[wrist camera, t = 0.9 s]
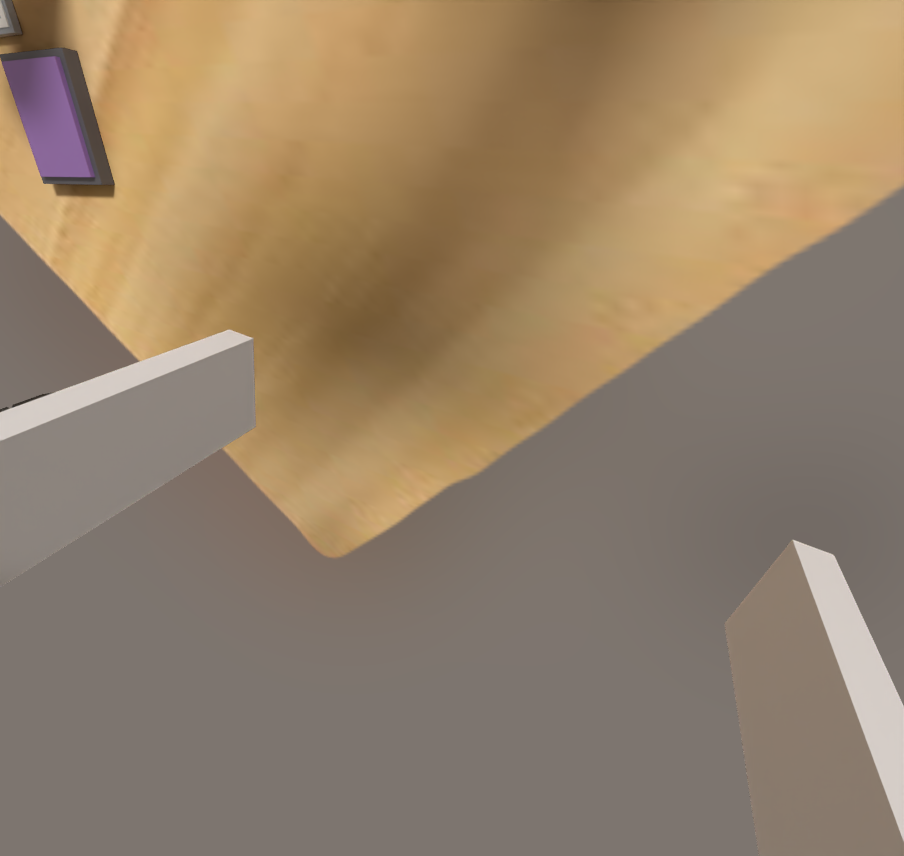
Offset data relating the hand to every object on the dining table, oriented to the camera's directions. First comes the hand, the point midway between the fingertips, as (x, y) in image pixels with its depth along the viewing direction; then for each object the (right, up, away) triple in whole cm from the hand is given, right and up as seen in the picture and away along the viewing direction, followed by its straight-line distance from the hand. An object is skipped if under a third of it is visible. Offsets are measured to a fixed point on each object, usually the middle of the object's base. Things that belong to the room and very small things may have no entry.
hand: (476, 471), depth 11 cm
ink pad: (-36, +29, +32) cm, 56 cm away
